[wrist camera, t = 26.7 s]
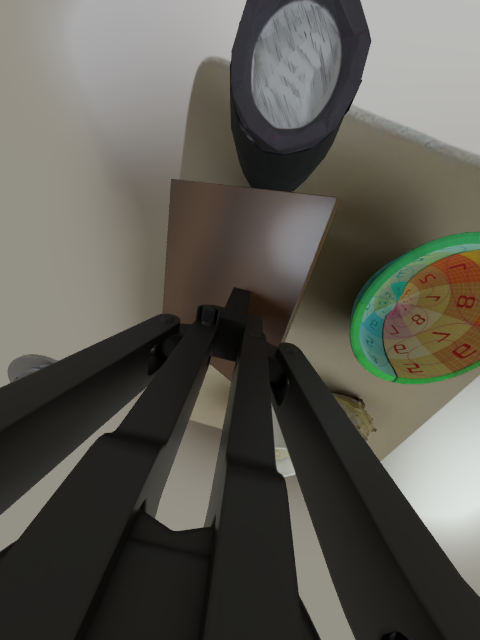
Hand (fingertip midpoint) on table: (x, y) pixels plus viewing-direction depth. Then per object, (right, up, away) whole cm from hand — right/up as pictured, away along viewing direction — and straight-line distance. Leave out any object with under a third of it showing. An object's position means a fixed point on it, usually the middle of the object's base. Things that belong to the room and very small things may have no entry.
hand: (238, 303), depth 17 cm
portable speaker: (+5, +21, +12) cm, 25 cm away
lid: (-2, +2, +3) cm, 4 cm away
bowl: (+28, +2, +18) cm, 33 cm away
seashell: (+24, -22, +30) cm, 44 cm away
